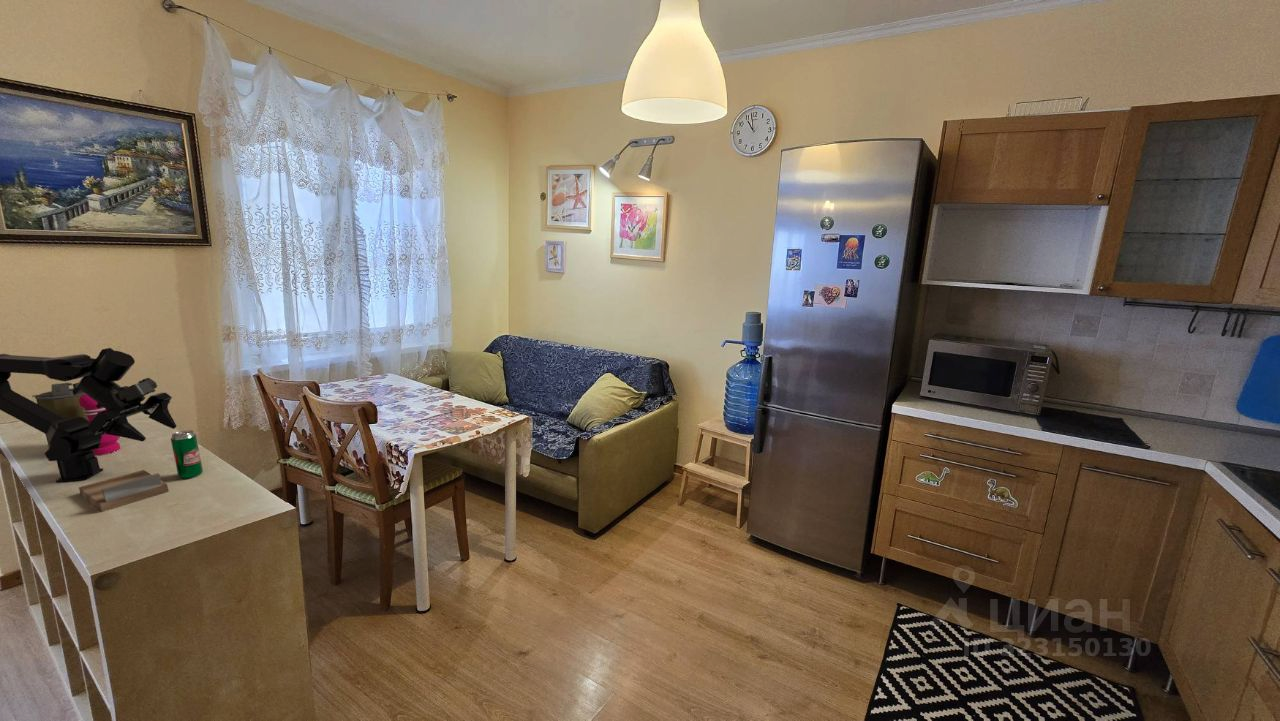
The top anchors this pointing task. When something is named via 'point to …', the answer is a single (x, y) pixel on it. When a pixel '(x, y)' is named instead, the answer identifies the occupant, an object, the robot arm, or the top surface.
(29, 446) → the top surface
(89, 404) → the pepper mill
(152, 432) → the top surface
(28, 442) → the top surface
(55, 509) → the top surface
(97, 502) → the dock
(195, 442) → the soda can
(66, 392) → the canister
